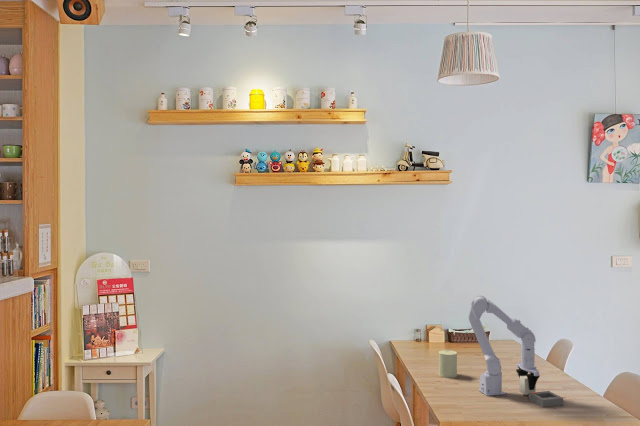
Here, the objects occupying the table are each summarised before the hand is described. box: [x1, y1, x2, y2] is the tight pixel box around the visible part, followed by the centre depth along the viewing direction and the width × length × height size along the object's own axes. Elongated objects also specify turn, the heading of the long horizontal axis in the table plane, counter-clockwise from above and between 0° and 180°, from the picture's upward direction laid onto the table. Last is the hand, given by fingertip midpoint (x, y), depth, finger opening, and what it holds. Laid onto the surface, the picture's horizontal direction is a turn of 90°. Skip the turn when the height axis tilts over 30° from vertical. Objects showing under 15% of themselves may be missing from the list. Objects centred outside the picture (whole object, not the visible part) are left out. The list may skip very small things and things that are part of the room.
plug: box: [519, 376, 537, 397], centre depth 269 cm, size 4×6×8 cm
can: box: [438, 349, 458, 379], centre depth 300 cm, size 9×9×12 cm
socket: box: [528, 390, 564, 408], centre depth 259 cm, size 10×10×3 cm
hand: (527, 387), depth 269 cm, fingers open, 6 cm apart
